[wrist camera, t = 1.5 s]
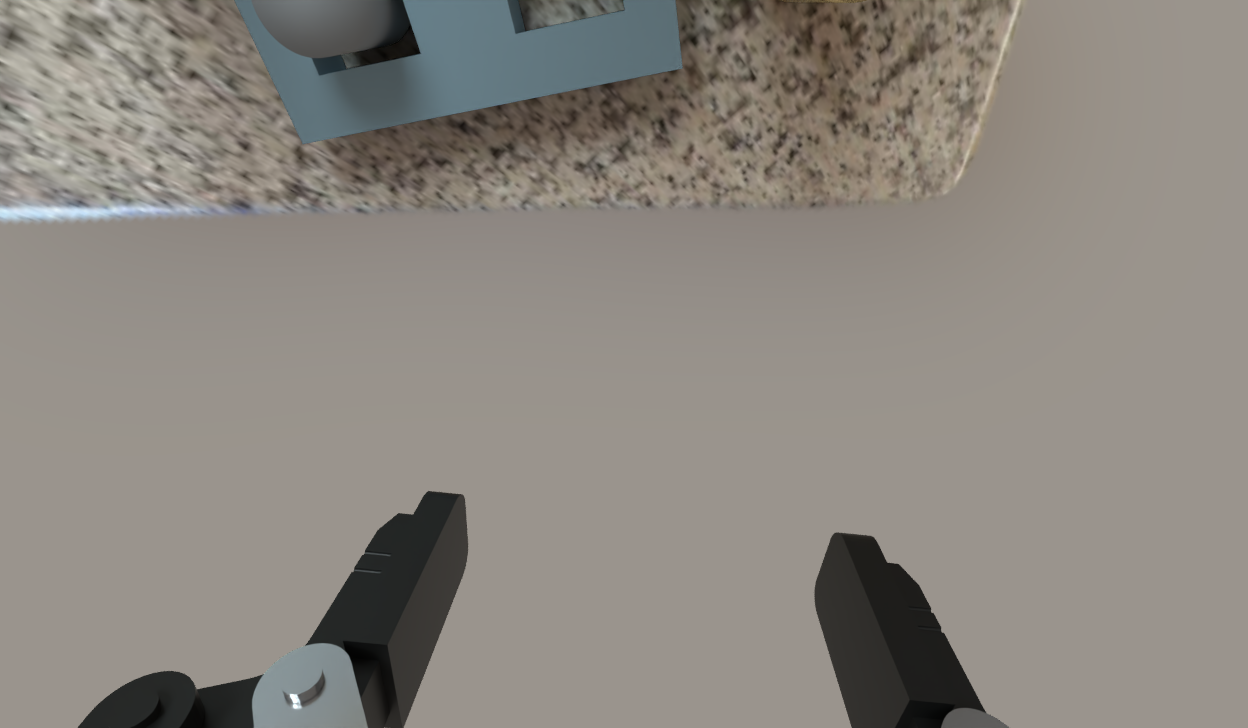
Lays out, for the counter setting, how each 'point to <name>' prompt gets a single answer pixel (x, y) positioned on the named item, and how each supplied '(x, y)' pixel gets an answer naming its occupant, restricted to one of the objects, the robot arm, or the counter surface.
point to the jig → (444, 57)
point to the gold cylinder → (837, 0)
